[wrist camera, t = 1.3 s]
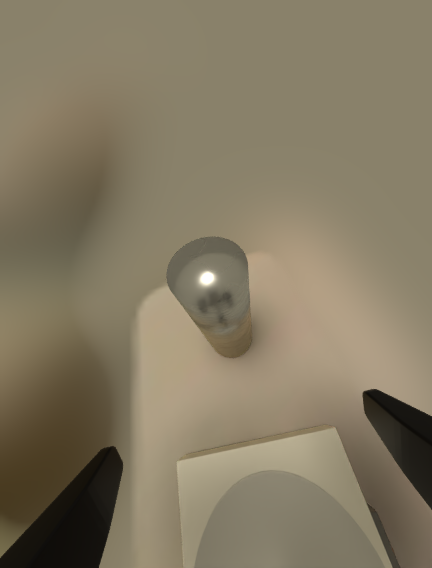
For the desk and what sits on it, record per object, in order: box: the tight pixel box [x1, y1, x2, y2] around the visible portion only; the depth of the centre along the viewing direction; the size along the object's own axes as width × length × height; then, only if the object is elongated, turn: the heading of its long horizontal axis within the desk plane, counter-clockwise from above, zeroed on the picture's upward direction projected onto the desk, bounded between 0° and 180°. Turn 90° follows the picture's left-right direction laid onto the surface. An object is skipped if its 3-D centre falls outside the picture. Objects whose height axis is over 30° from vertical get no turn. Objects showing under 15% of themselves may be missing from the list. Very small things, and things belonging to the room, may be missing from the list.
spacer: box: [167, 237, 252, 358], centre depth 16 cm, size 4×4×13 cm
